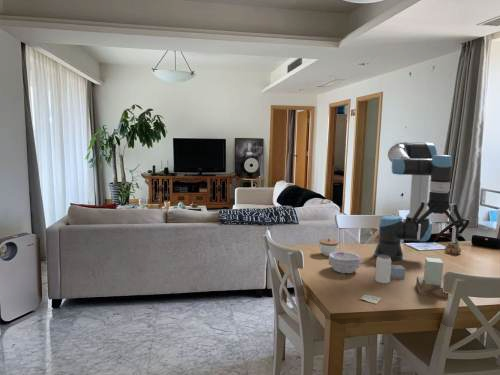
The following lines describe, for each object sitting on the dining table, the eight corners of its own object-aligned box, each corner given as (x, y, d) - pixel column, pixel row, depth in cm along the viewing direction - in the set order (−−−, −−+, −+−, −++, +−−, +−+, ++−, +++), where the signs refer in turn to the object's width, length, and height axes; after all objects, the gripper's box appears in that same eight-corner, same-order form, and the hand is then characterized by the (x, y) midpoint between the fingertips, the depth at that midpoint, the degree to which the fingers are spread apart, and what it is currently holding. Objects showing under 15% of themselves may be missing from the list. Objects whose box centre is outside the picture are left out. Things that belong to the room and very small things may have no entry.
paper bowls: (338, 263, 196) (339, 249, 195) (365, 271, 185) (366, 255, 185) (322, 270, 186) (323, 254, 185) (349, 278, 175) (350, 262, 174)
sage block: (425, 283, 159) (427, 261, 158) (423, 279, 164) (425, 257, 163) (441, 285, 157) (443, 262, 156) (438, 280, 163) (440, 258, 161)
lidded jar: (340, 253, 214) (341, 238, 213) (334, 258, 205) (334, 242, 204) (322, 250, 220) (323, 235, 218) (315, 255, 211) (316, 239, 209)
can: (388, 285, 167) (389, 259, 166) (373, 282, 171) (375, 256, 169) (391, 280, 173) (392, 255, 171) (377, 277, 176) (378, 253, 175)
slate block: (393, 278, 176) (394, 268, 175) (390, 274, 181) (390, 265, 180) (404, 278, 176) (404, 268, 175) (400, 275, 181) (401, 265, 180)
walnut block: (419, 294, 158) (420, 285, 157) (416, 284, 168) (416, 276, 168) (448, 297, 154) (449, 288, 154) (442, 288, 165) (443, 279, 164)
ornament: (443, 252, 220) (445, 236, 218) (446, 250, 224) (447, 234, 223) (458, 255, 214) (460, 239, 213) (461, 253, 219) (462, 237, 218)
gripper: (408, 191, 156) (405, 240, 159) (475, 194, 149) (470, 245, 151) (406, 189, 163) (403, 235, 166) (470, 192, 156) (465, 241, 158)
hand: (435, 240), depth 159 cm, fingers open, 13 cm apart
